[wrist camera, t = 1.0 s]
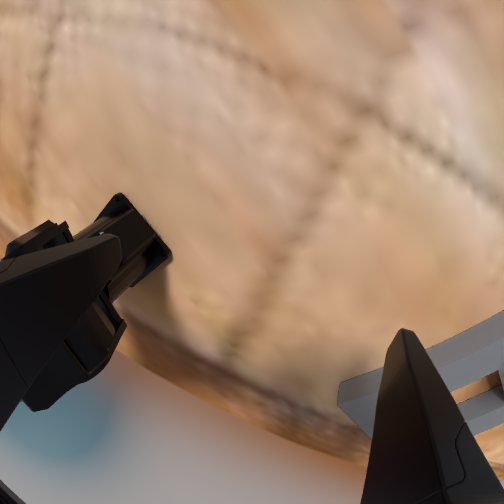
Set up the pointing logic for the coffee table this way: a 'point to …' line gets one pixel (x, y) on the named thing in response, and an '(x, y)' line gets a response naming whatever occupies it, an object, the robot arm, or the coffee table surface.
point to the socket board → (445, 377)
